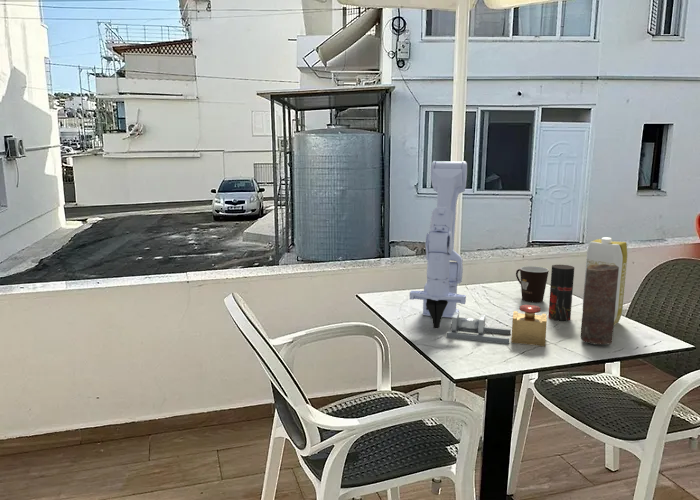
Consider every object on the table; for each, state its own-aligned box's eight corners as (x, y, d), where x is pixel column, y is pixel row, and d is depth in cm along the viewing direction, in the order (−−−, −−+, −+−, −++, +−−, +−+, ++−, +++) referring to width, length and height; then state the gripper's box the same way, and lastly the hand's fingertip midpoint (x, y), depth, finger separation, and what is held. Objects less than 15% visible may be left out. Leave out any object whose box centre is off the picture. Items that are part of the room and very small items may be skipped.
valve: (511, 342, 141) (513, 309, 140) (512, 334, 147) (514, 302, 146) (545, 346, 139) (547, 312, 137) (544, 338, 145) (547, 305, 143)
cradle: (446, 337, 145) (446, 332, 145) (451, 327, 153) (451, 323, 153) (508, 343, 141) (509, 339, 140) (510, 333, 148) (510, 329, 148)
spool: (451, 335, 147) (451, 317, 146) (454, 329, 151) (454, 311, 150) (482, 339, 144) (483, 320, 143) (484, 333, 149) (485, 314, 148)
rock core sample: (609, 351, 136) (616, 269, 132) (577, 345, 140) (583, 266, 136) (614, 341, 142) (621, 263, 138) (582, 336, 146) (589, 260, 142)
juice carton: (578, 321, 158) (585, 236, 153) (589, 315, 164) (596, 233, 159) (613, 329, 152) (621, 241, 147) (623, 322, 157) (631, 237, 153)
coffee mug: (550, 303, 175) (552, 272, 174) (522, 303, 176) (524, 272, 174) (538, 293, 187) (540, 264, 185) (512, 293, 187) (514, 264, 185)
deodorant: (572, 322, 158) (576, 269, 155) (549, 320, 159) (553, 268, 156) (568, 315, 163) (572, 265, 160) (546, 314, 164) (550, 264, 162)
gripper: (407, 278, 146) (406, 329, 149) (464, 283, 141) (462, 334, 144) (413, 272, 153) (412, 321, 155) (467, 276, 148) (465, 326, 151)
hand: (436, 327), depth 150 cm, fingers closed
